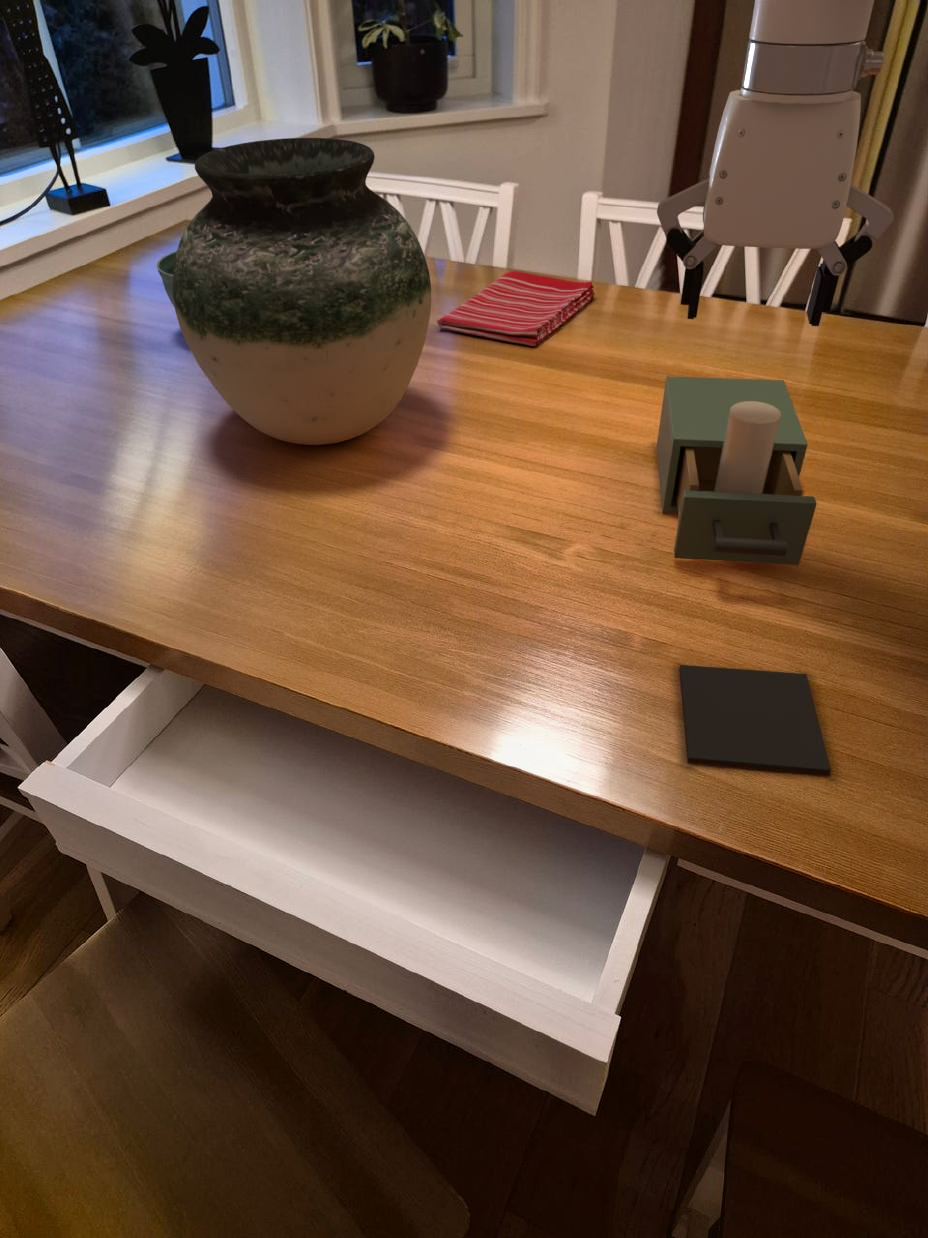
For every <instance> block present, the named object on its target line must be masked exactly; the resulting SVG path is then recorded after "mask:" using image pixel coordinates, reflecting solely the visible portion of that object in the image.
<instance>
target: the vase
mask: <svg viewBox="0 0 928 1238" xmlns="http://www.w3.org/2000/svg"><path fill="white" fill-rule="evenodd" d="M374 161H375V152H374V150H373V148H371V147H370V146H368V145H366V144H364V143H361V142H357V141H353V140H347V139H341V138H340V139H339V138H328V137H287V138H285V137H284V138H274V139H273V138H272V139H264V140H255V141H248V142H242V143H237V144H231V145H227V146H224V147H220V148H217V149H213V150H210V151H209V152H206V153H204V154H203V155H200V156H199V157H198V158H196V160H195V162H194V170H195V172H196V174H197V176H198V177H199V178H200V180H202V181H203V183H204V184H205V185H206V186H207V188H208V189H209V190H210V192H211V198H210V200H209V201H208V202H207V203H206V204H205V205H204V206H203V207H202V208H201V209H200V210H199V211H198V212H197V213H196V214H195V215H194V217H193V218H192V219H191V220H190V222H189V223H188V225H187V226H186V227H185V229H184V232H183V234H182V235H181V238H180V240H179V242H178V244H177V249H176V251H177V253H176V256H175V261H174V270H173V299H174V306H175V307H174V306H173V307H174V310H175V311H174V312H175V315H176V318H177V322H178V325H179V328H180V331H181V333H182V336H183V338H184V340H185V342H186V344H187V346H188V348H189V350H190V352H191V354H192V355H193V357H194V359H195V361H196V362H197V364H198V366H199V368H200V369H201V371H202V372H203V374H204V375H205V376H206V378H207V380H208V381H209V382H210V384H211V385H212V386H213V388H214V389H215V390H216V391H217V392H218V394H219V395H220V396H221V398H222V399H223V400H224V401H225V402H226V403H227V405H228V406H229V407H230V408H231V409H232V410H233V411H234V412H235V413H236V414H237V415H238V416H239V417H240V418H242V419H243V420H244V421H245V422H246V423H248V424H249V425H251V426H252V428H254V429H256V430H258V431H259V432H261V433H263V434H265V435H267V436H268V437H271V438H274V439H277V440H279V441H283V442H287V443H291V444H296V445H297V444H298V445H304V446H305V445H306V446H321V445H322V446H323V445H331V444H336V443H342V442H345V441H349V440H351V439H353V438H356V437H359V436H362V435H363V434H365V433H367V432H368V431H371V430H372V429H374V428H375V427H377V426H378V425H379V424H380V423H382V422H383V421H384V420H385V419H386V418H387V417H388V416H389V415H390V414H391V413H392V412H393V410H395V408H396V407H397V405H398V404H399V403H400V401H401V400H402V398H403V396H404V395H405V393H406V391H407V389H408V387H409V385H410V383H411V381H412V378H413V376H414V374H415V371H416V369H417V367H418V364H419V361H420V358H421V356H422V353H423V350H424V346H425V343H426V339H427V334H428V330H429V325H430V320H431V319H430V318H431V314H432V313H431V312H432V284H431V275H430V270H429V267H428V263H427V259H426V256H425V254H424V250H423V248H422V245H421V243H420V241H419V239H418V237H417V235H416V234H415V232H414V230H413V228H412V226H411V225H410V224H409V222H408V221H407V219H406V218H405V217H404V216H403V214H402V213H401V212H400V211H399V210H398V209H397V207H395V206H394V205H392V203H390V202H389V201H388V200H387V199H385V198H383V197H382V196H381V195H380V194H378V193H376V192H375V191H373V190H371V189H370V188H369V186H367V182H366V181H367V178H368V175H369V173H370V171H371V169H372V167H373V165H374Z"/></svg>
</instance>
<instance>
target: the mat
mask: <svg viewBox="0 0 928 1238" xmlns="http://www.w3.org/2000/svg"><path fill="white" fill-rule="evenodd" d="M678 671H679V672H678V673H679V683H680V694H681V695H680V696H681V704H682V706H681V707H682V716H683V727H684V728H683V729H684V738H685V739H684V740H685V750H686V761H687V763H688V764H700V765H710V766H720V767H721V766H722V767H731V768H732V767H733V768H743V769H756V770H767V771H778V772H779V771H780V772H790V773H800V774H801V773H802V774H814V775H824V776H830V774H831V771H832V768H831V764H830V759H829V757H828V753H827V749H826V744H825V741H824V736H823V733H822V729H821V725H820V721H819V717H818V713H817V710H816V706H815V701H814V698H813V697H814V696H813V693H812V690H811V687H810V683H809V679H808V678H809V677H808V675H807V673H799V672H785V671H784V672H783V671H770V670H758V669H757V670H756V669H745V668H730V667H729V668H728V667H716V666H714V667H713V666H702V665H687V664H680V665H679V669H678Z"/></svg>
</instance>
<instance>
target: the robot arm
mask: <svg viewBox="0 0 928 1238" xmlns="http://www.w3.org/2000/svg"><path fill="white" fill-rule="evenodd" d="M874 3H875V0H754V6H753V13H752V19H751V23H750V29H749V37H748V38H749V39H748V43H747V49H746V55H745V62H744V68H743V74H742V79H741V80H742V81H741V86H740V89H736V90H732V91H730V92H729V95H728V97H727V99H726V103H725V106H724V109H723V112H722V116H721V119H720V123H719V126H718V130H717V135H716V139H715V143H714V147H713V153H712V159H711V162H710V163H711V164H710V168H709V173H708V178H706V179H704V180H701V181H700V182H698V183H696V184H694V185H691V186H689V187H687V188H685V189H683V190H682V191H679V192H677V193H675V194H673V195H670V196H669V197H667V198H664V199H663V200H661V201H660V202H659V203H658V204H657V207H656V215H657V219H658V220H659V223H660V226H661V228H662V231H663V233H664V236H665V240H666V243H667V245H668V246H669V247H670V249H671V250H672V251H673V252H674V254H676V256H677V257H678V258H679V259H680V261H681V262H682V265H683V267H684V268H685V269H684V275H683V284H682V288H681V297H680V305H681V306H682V305H683V306H687V317H686V318H687V320H694V319H696V318H697V316H698V309H699V303H700V298H701V297H700V296H701V291H702V284H703V278H704V269H705V261H703V260H704V259H705V258H707V256H709V254H711V253H712V252H713V250H715V249H716V248H717V247H718V245H719V246H728V247H741V248H743V247H745V248H746V247H747V248H765V249H766V248H768V249H769V248H770V249H793V250H794V249H797V250H814V249H816V250H817V251H818V253H819V255H820V257H821V259H822V262H820V264H819V266H817V267H816V272H815V274H814V275H815V276H814V279H813V283H812V288H811V292H810V296H809V300H808V304H807V309H806V316H807V320H808V324H809V325H811V327H820V324H821V320H822V315H823V313H827V314H828V313H830V312H831V309H832V306H833V301H834V297H835V294H836V291H837V290H836V289H837V286H838V284H839V283H838V282H839V279H840V278H839V277H840V276H841V275H843V274H844V273H845V272H847V268H849V267H850V266H851V265H853V264H854V263H855V262H857V261H859V260H860V259H861V258H862V257H864V256H865V255H866V254H867V253H869V252H870V251H871V250H872V248H873V245H874V244H875V243H876V241H878V240H879V239H880V237H881V236H882V235H883V234H884V233H885V231H886V230H887V229H888V228H889V226H891V224H892V223H893V221H894V219H895V215H894V212H893V211H892V210H891V208H890V207H888V205H885V204H884V203H883V202H881V201H880V200H878V199H876V198H875V197H873V196H871V195H870V194H868V193H867V192H865V191H864V190H862V189H861V188H859V187H858V186H857V185H855V184H853V183H852V179H853V173H854V168H855V167H854V166H855V160H856V155H857V148H858V139H859V131H860V121H861V109H862V108H861V107H862V95H861V93H860V92H857V91H854V89H856V87H857V84H858V82H860V81H861V80H862V78H867V77H868V75H869V76H871V75H872V76H873V75H876V76H878V75H880V72H881V70H882V66H883V63H884V57H885V52H884V51H874V49H873V48H869V47H868V46H867V42H866V41H865V39H866V38H867V33H868V29H869V25H870V20H871V17H872V12H873V8H874ZM701 204H703V210H702V222H703V227H702V229H701V231H700V232H698V233H697V234H696V235H695V236H694V238H692V239H691V238H690V236H689V235H688V234H687V232H686V231H685V230H684V229H683V228H682V226H681V224H680V220H679V215H681V214H683V213H684V212H686V211H688V210H690V209H692V208H694V207H697V206H699V205H701ZM847 208H849V209H850V210H852V211H853V212H855V213H857V214H858V215H860V216H861V217H863V218H864V219H865V223H864V224H863V226H862V227H861V229H860V230H859V232H857V233H856V234H854V235H853V236H851V237H850V238H849V239H848V240H846V241H844V243H842V244H841V245H840V246H839V244H838V243H837V239H838V237H839V235H840V232H841V229H842V226H843V223H844V218H845V215H846V210H847Z"/></svg>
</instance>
